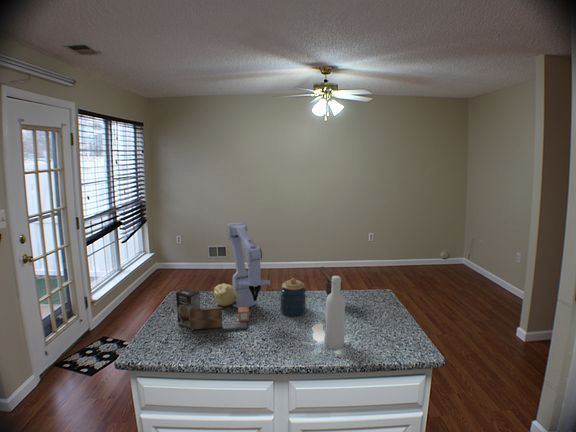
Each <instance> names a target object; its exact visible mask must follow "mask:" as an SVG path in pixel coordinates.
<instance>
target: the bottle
mask: <svg viewBox="0 0 576 432" xmlns="http://www.w3.org/2000/svg"><path fill="white" fill-rule="evenodd" d="M331 278H332V280H331V281H332V292H331V293H330V294H329V295H327V298H326V300H325V333H324V334H325V337H324V341H325V344H324V345H325V347H327V348H328V349H331V350H341V349H342V348H344V346H345V323H346V321H345V319H346V300H345V296H344V295H343V294H342V292H341V293H340V290H341V291H342V288H341V281H342V277H341V276H339V275H332V276H331Z"/></svg>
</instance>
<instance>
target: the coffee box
mask: <svg viewBox="0 0 576 432" xmlns="http://www.w3.org/2000/svg"><path fill="white" fill-rule="evenodd" d="M175 296H176V300H175V301H176V310H177V312H176V313H177V324H178V325H181V326H184V327H187V328H190V329H191V326H190V309H200V308H201V300H200V299H201V297H200V296H201V295H200V290H195V289H191V288H188V287H184V288H183V289H180V290H178V291H176V292H175Z"/></svg>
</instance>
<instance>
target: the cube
mask: <svg viewBox="0 0 576 432" xmlns="http://www.w3.org/2000/svg"><path fill="white" fill-rule="evenodd" d="M249 308H250V307H249ZM249 308H248V307H238V308H237V310H238V311H237V313H238V314H237V315H238V323H241V322H249V321H250V309H249ZM240 321H241V322H240Z"/></svg>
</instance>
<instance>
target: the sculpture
mask: <svg viewBox="0 0 576 432" xmlns="http://www.w3.org/2000/svg"><path fill="white" fill-rule="evenodd" d="M213 298H214V302H215V303H216V304H217V305H219V306H220V307H227V306H230V305H234V304H235V303H236V291H235V290H234V289H233V285H231V284H228V283H225V282H223V283H220V284H217V285H216V286H214V288H213Z"/></svg>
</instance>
